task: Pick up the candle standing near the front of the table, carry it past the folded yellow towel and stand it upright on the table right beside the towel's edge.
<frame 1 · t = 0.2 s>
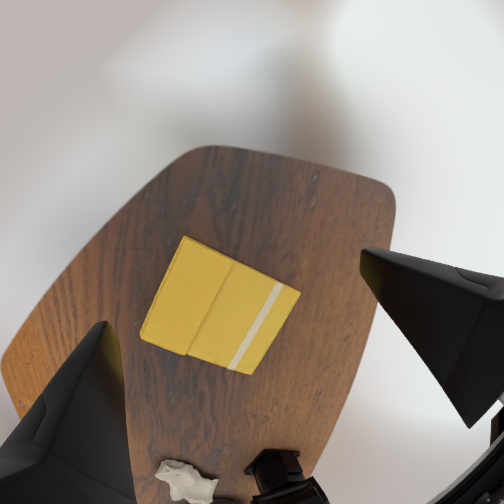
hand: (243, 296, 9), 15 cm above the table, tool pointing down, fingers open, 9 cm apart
towel: (219, 312, 25), on the table
off-white irregular piece: (186, 472, 30), on the table
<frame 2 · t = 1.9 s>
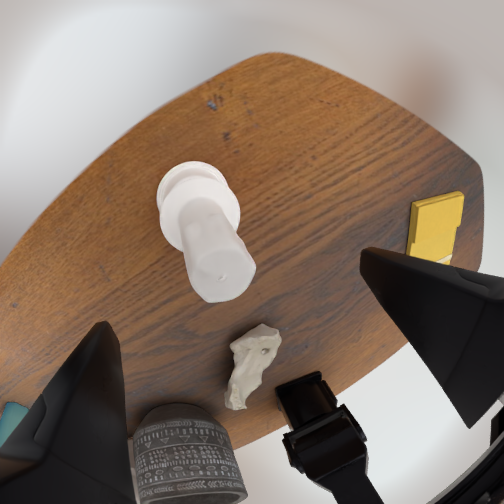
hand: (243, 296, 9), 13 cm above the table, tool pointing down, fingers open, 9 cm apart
towel: (431, 240, 30), on the table
planter: (176, 418, 31), on the table, touching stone
cup: (23, 410, 24), on the table
off-white irregular piece: (244, 355, 29), on the table
candle: (192, 196, 20), on the table
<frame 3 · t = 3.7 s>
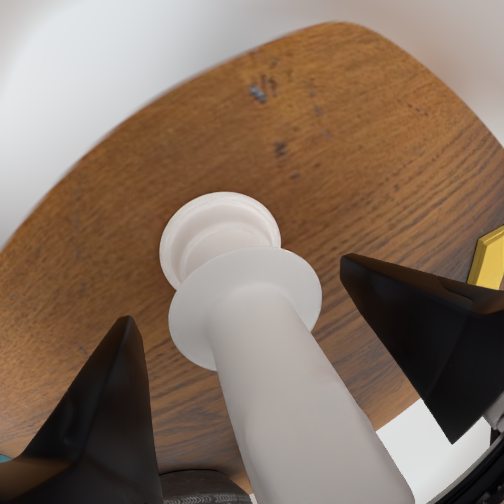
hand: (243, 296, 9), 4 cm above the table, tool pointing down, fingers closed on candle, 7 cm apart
towel: (485, 277, 23), on the table
planter: (189, 479, 23), on the table, touching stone
candle: (220, 249, 12), on the table, touching gripper
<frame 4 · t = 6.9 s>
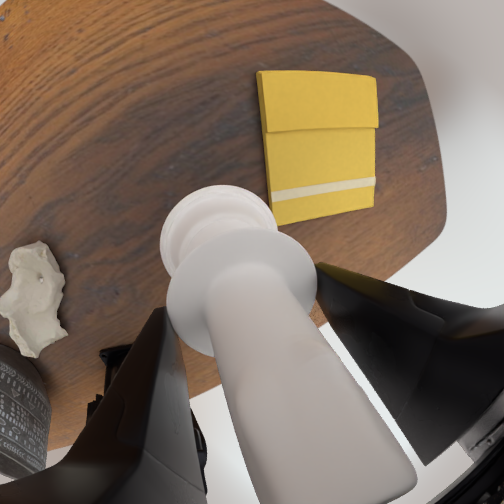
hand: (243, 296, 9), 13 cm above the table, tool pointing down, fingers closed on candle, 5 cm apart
towel: (322, 144, 21), on the table
planter: (13, 368, 21), on the table, touching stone
off-white irregular piece: (41, 289, 19), on the table
candle: (219, 242, 13), point 8 cm above the table, touching gripper
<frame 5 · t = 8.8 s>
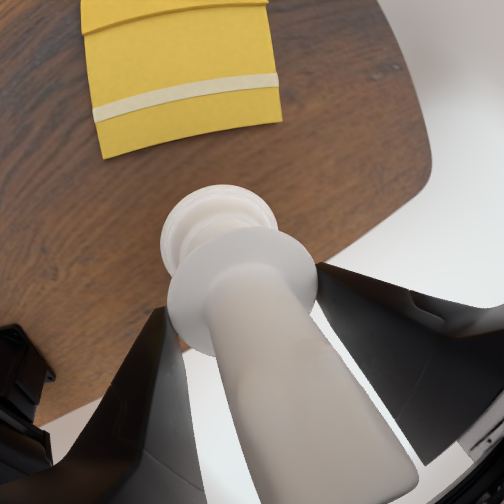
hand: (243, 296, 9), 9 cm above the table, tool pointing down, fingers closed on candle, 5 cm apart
towel: (177, 36, 11), on the table
candle: (219, 241, 13), point 4 cm above the table, touching gripper
when the fingers open (4 cm above the table, at t = 10.3 s): candle stays where it is, on the table.
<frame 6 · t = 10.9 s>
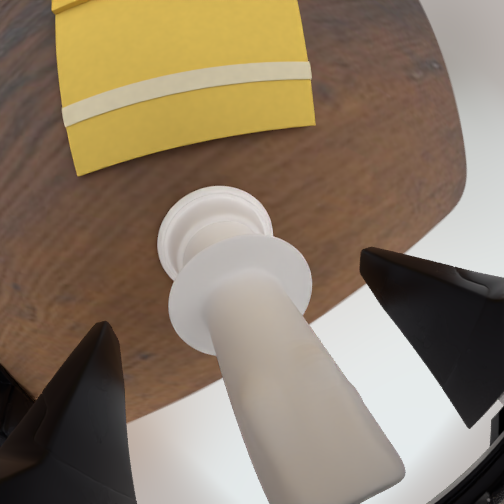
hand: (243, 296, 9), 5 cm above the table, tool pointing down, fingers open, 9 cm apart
towel: (177, 11, 8), on the table
candle: (215, 241, 13), on the table
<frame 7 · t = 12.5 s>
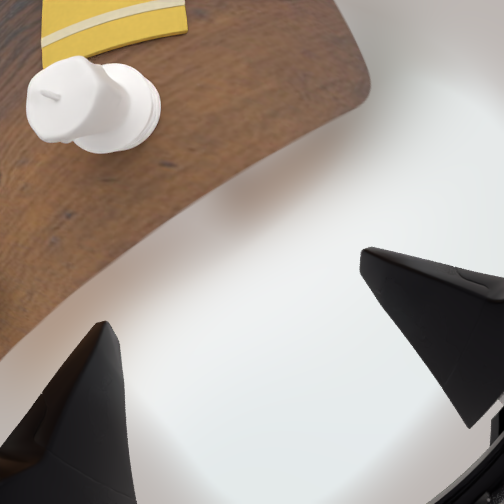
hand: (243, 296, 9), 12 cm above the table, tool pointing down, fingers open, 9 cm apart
candle: (121, 111, 15), on the table
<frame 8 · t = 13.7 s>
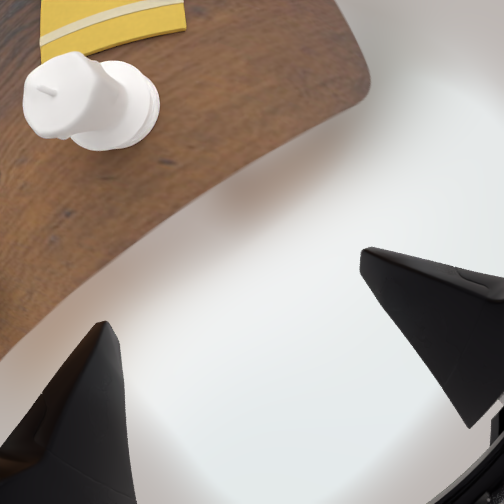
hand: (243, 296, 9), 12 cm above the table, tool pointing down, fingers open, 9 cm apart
candle: (120, 109, 15), on the table
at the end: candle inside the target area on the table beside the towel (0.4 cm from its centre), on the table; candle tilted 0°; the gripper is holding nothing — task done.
